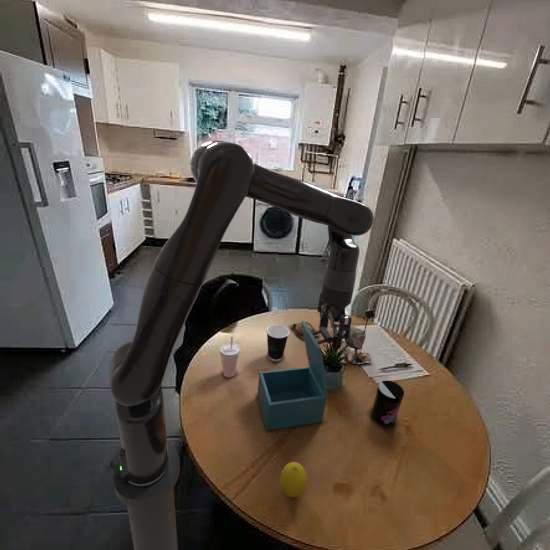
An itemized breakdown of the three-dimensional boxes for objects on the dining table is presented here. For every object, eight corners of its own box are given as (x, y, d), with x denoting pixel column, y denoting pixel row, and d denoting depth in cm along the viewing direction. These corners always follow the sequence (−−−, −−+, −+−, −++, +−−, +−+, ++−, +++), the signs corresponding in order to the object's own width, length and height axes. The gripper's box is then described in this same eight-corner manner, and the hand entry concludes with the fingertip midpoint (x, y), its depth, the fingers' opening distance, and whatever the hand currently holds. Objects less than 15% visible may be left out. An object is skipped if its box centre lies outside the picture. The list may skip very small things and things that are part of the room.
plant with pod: (340, 348, 118) (349, 301, 110) (371, 355, 115) (382, 308, 107) (338, 361, 110) (348, 312, 103) (371, 368, 108) (383, 319, 100)
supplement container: (374, 426, 85) (382, 397, 81) (368, 407, 92) (375, 379, 88) (398, 428, 85) (407, 399, 81) (391, 409, 92) (399, 381, 88)
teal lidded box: (266, 430, 81) (269, 405, 78) (257, 395, 92) (259, 371, 89) (321, 421, 85) (326, 397, 82) (306, 388, 96) (309, 366, 93)
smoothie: (242, 376, 99) (244, 339, 94) (224, 383, 96) (225, 345, 90) (233, 364, 104) (234, 329, 99) (215, 370, 101) (216, 334, 95)
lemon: (287, 474, 71) (291, 449, 68) (308, 489, 68) (313, 464, 65) (273, 493, 67) (276, 468, 64) (295, 511, 64) (299, 485, 61)
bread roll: (320, 337, 124) (321, 329, 122) (302, 341, 120) (303, 333, 119) (306, 323, 132) (307, 316, 131) (289, 326, 129) (290, 319, 127)
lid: (317, 348, 74) (339, 341, 75) (300, 321, 86) (319, 315, 86) (325, 396, 82) (344, 389, 82) (308, 365, 93) (326, 359, 94)
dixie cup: (264, 364, 106) (266, 337, 101) (263, 349, 113) (265, 324, 109) (287, 364, 106) (290, 337, 102) (285, 350, 114) (288, 324, 110)
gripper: (314, 272, 81) (306, 325, 88) (337, 297, 69) (326, 356, 75) (340, 271, 83) (331, 323, 90) (367, 295, 71) (354, 354, 77)
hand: (329, 338), depth 82 cm, fingers open, 8 cm apart
